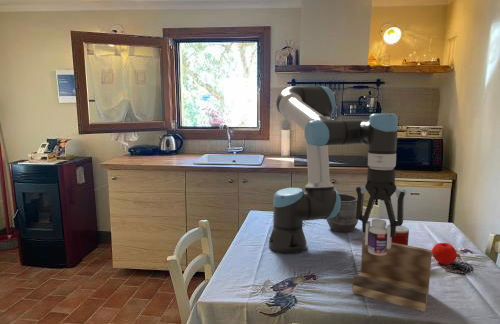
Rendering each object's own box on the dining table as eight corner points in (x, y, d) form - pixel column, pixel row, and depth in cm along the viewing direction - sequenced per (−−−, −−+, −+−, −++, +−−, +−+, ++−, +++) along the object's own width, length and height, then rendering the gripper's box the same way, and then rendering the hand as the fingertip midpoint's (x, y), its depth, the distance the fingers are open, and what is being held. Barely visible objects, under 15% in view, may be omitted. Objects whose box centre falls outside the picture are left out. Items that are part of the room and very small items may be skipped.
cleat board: (352, 292, 108) (354, 249, 106) (361, 277, 118) (363, 237, 115) (424, 312, 98) (429, 264, 96) (428, 293, 108) (432, 250, 105)
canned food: (408, 260, 130) (411, 232, 128) (386, 258, 131) (387, 230, 130) (404, 252, 137) (406, 225, 135) (382, 250, 139) (384, 223, 137)
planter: (324, 222, 171) (325, 192, 168) (355, 224, 169) (356, 193, 166) (326, 233, 157) (328, 201, 154) (360, 235, 155) (361, 202, 152)
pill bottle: (377, 257, 101) (378, 224, 100) (363, 250, 106) (365, 219, 105) (391, 254, 103) (392, 222, 102) (377, 247, 108) (378, 217, 107)
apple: (435, 256, 134) (437, 237, 132) (458, 262, 128) (460, 243, 127) (427, 262, 128) (429, 243, 127) (451, 270, 122) (453, 250, 121)
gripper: (345, 167, 103) (343, 243, 106) (414, 172, 93) (409, 256, 96) (352, 163, 109) (350, 235, 112) (418, 168, 99) (413, 247, 103)
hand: (377, 245), depth 104 cm, fingers closed on pill bottle, 5 cm apart
